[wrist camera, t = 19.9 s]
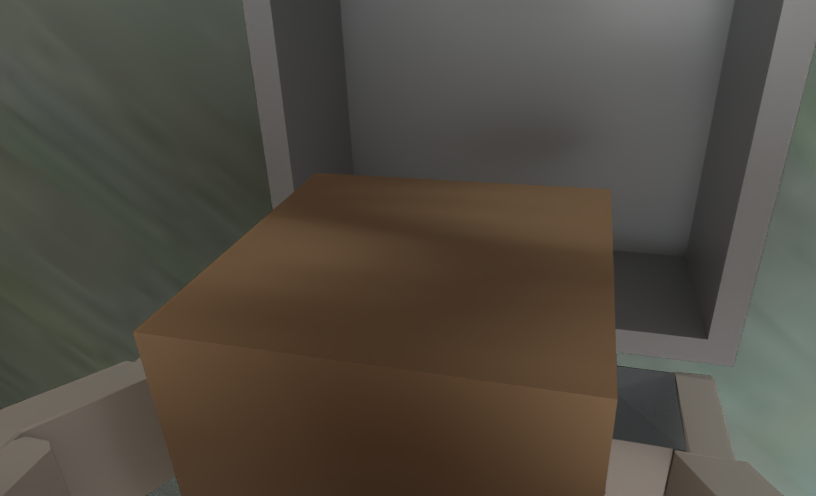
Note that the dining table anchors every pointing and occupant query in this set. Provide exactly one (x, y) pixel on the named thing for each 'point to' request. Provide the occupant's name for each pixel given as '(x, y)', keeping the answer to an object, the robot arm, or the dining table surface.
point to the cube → (396, 345)
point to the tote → (561, 125)
